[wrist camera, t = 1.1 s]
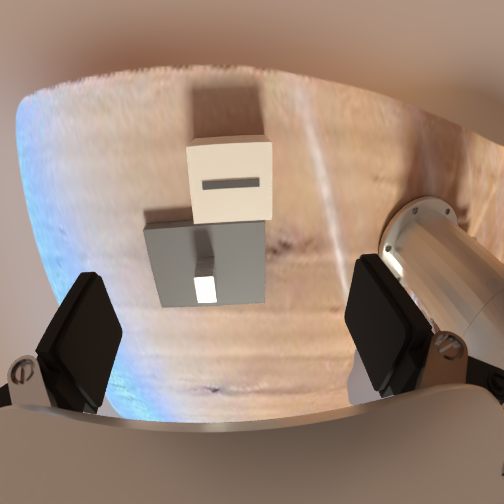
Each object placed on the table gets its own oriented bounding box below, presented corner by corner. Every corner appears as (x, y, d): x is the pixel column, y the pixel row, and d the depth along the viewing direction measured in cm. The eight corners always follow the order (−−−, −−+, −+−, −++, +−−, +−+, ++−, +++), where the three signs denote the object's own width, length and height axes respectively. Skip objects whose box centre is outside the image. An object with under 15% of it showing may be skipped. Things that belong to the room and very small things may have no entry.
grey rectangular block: (214, 256, 29) (213, 276, 26) (217, 280, 30) (216, 301, 27) (197, 257, 29) (193, 277, 26) (200, 281, 30) (198, 302, 27)
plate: (263, 216, 28) (264, 222, 27) (263, 294, 34) (264, 302, 32) (146, 223, 28) (143, 230, 27) (164, 299, 33) (162, 307, 32)
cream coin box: (264, 134, 24) (272, 142, 20) (265, 199, 28) (272, 220, 23) (194, 138, 24) (185, 146, 20) (199, 202, 27) (193, 224, 23)
